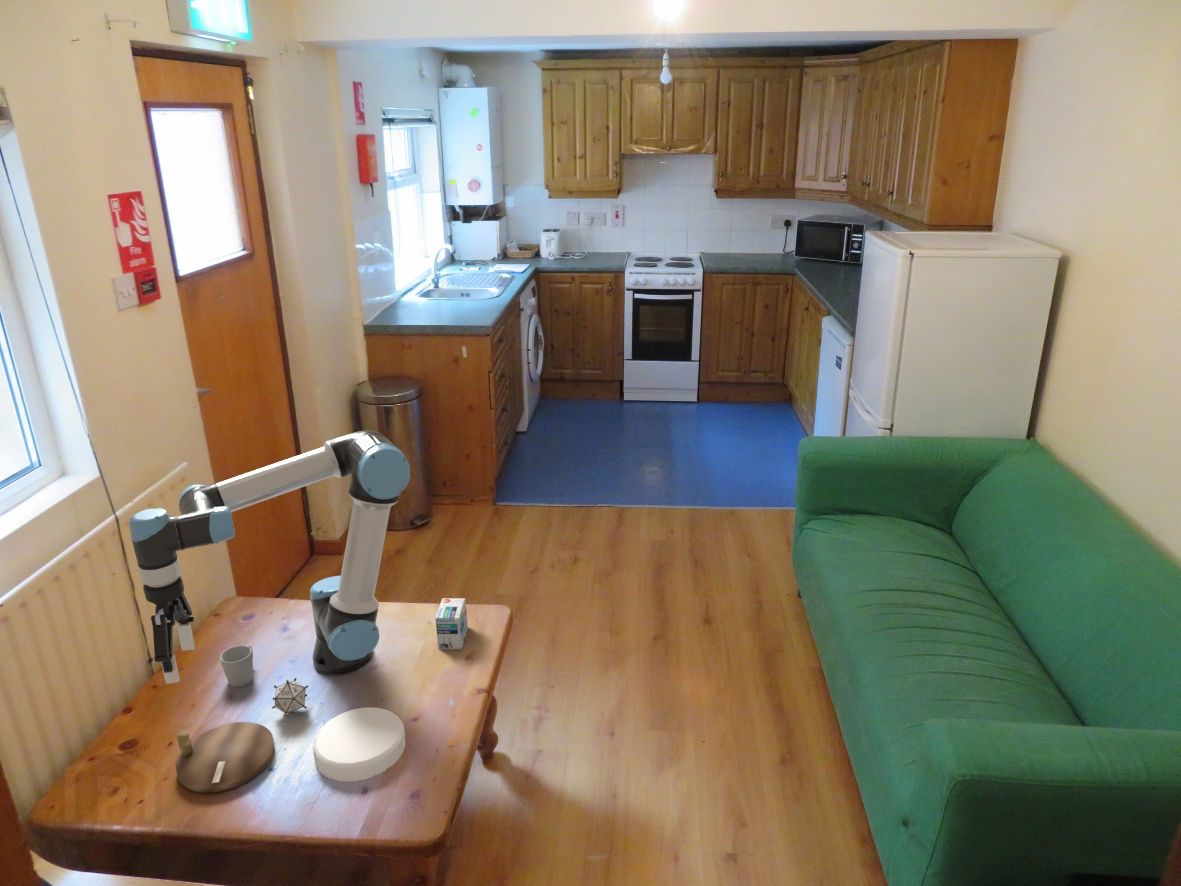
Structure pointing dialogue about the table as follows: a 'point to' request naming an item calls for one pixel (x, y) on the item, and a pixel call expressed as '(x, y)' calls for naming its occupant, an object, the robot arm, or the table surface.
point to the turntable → (223, 756)
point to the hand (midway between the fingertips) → (181, 665)
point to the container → (359, 744)
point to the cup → (238, 665)
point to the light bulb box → (451, 623)
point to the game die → (290, 697)
